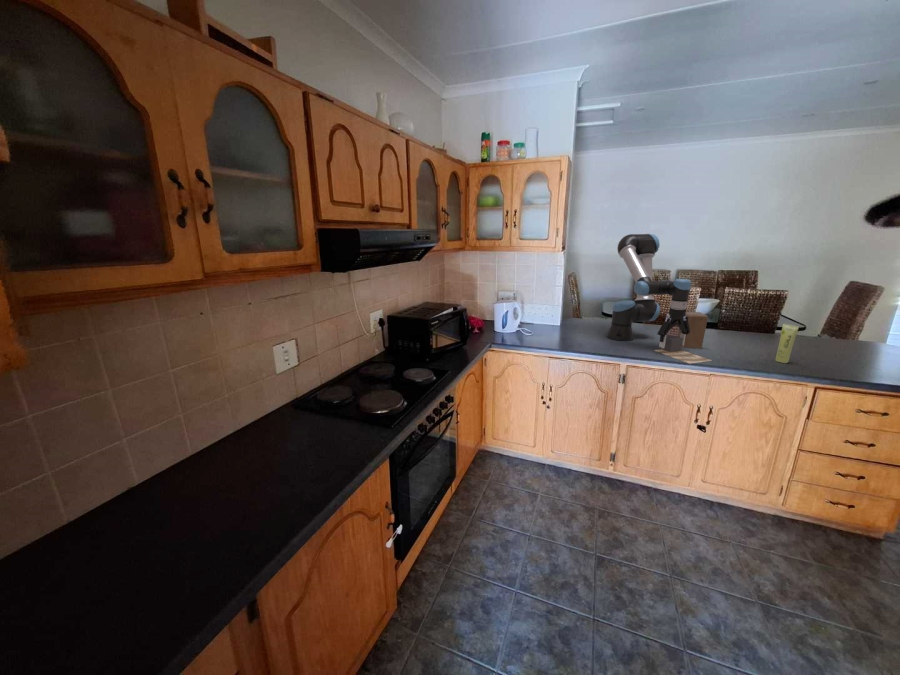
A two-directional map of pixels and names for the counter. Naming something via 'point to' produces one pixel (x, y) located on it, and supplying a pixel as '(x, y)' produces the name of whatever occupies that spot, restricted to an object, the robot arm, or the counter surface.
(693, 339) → the wooden block
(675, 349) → the block
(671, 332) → the planter
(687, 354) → the board
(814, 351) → the counter surface
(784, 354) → the tube
